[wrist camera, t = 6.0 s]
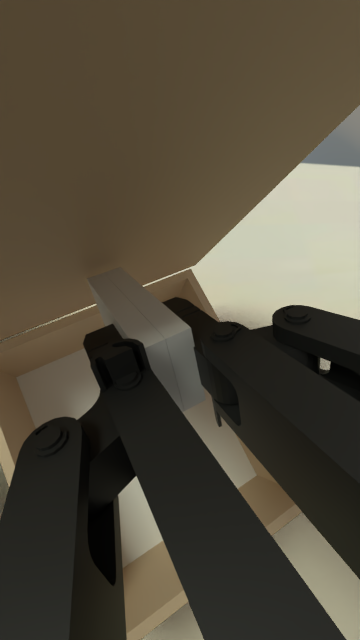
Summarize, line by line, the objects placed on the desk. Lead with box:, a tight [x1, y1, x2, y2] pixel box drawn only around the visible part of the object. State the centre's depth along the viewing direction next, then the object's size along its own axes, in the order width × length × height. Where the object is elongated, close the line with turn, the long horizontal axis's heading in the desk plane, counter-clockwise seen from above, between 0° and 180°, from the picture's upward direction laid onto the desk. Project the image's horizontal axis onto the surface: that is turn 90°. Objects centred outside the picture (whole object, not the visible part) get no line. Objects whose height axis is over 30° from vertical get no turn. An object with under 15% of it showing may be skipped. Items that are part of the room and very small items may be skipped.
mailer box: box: [0, 269, 302, 640], centre depth 22 cm, size 16×18×8 cm
